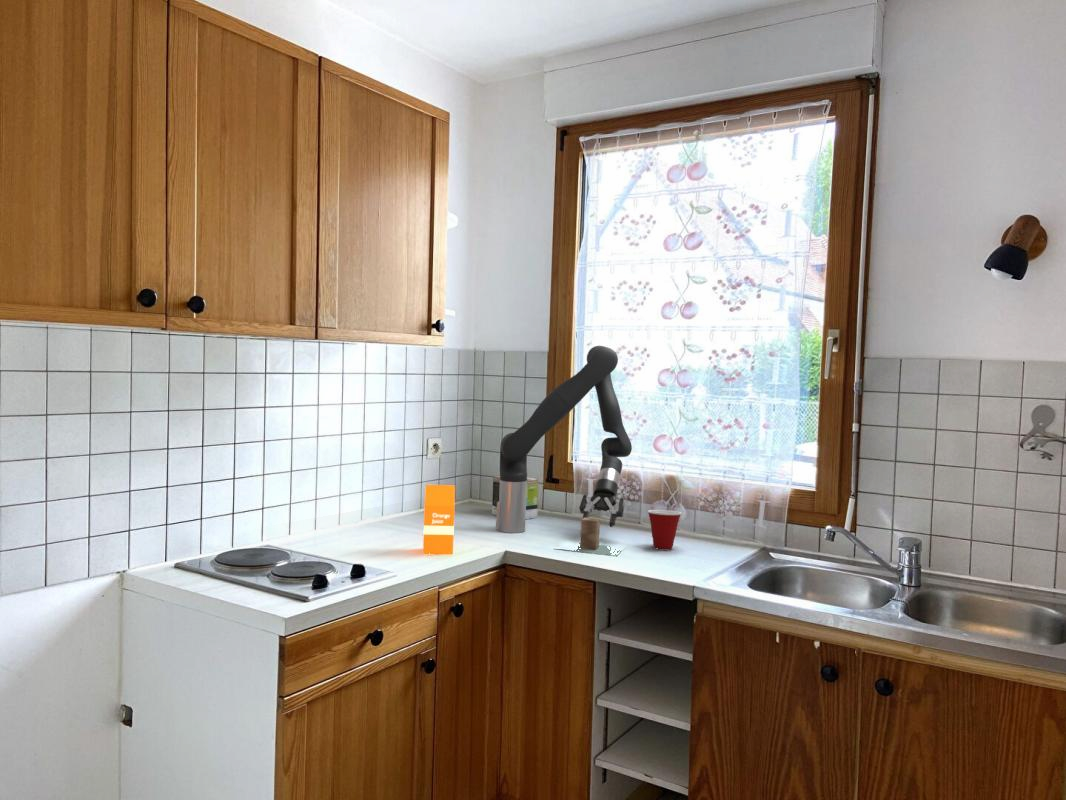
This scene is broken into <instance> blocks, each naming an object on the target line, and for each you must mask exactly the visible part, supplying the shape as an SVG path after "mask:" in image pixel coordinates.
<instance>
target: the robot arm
mask: <svg viewBox="0 0 1066 800" xmlns="http://www.w3.org/2000/svg"><path fill="white" fill-rule="evenodd" d="M618 357H619V356H618V354H617V352H616V351H615V350H614V349H612V348H610V347H607V346H604V345H596V346H595V345H594V346H593V347H592V348H591V349H589V351H588V352H587V354H586V363H585V365H584V366H583V367H582V368H581V369H580V370H579V371H578V372H576V374H574V375H572V376H571V377H569V378H568V379H566V380H565V381H563V382H561V383H560V384H558V385H557V386H556V387H555V388H554V389H553V390H551V392H550V393H548V395H547V396H546V397H545V398H544V399H542V401H541V402H540V403H539V405H537V408H535V410H534V412H533V413H532V415H531V416H530V417H529V418H528V420H527V421H526V422H525V423H523V425H521V426H520V427H519V428H518V429H517V430H516V431H514V432H510V433H508V434H505V435H504V437H502V439H501V442H500V449H499V476H500V491H499V502H497V515H496V518H495V519H496V521H495V523H496V524H495V531H498V532H503V533H510V534H512V533H513V534H515V533H517V534H518V533H523V532H525V531H526V520H527V519H526V492H527V477H528V469H527V463H528V461H527V459H528V454H529V453H530V452H531V451H532V449H533V448H534V447H535V445H537V443H538V442H539V441H540V439H542V438H543V436H545V435H546V434H547V433H548V432H550V430H552V429H553V428H554V427H555V426H556V425H557V424H558V423H560V421H562V420H563V419H564V418H565V417H566V416H567V415H568V414H569V413H571V411H572V410H573V409H574V408H575V407H576V406H577V405H578V404H579V402H581V401H582V400H583V399H584V398H585V396H586V395H587V394H588V393H589V392H590V391H591V390H592V389H593V388H594V387H595V392H596V396H597V401H598V407H599V412H600V418H601V424H602V425H601V426H602V428H603V431H604V432H606V433H610V434H613V435H614V436H616V437H606V438H604V440H602V442H601V446H600V449H601V464H600V465H601V466H600V469H599V474H598V475H597V478H596V481H595V482H596V483H595V486H594V490H593V494H592V496H587V494H583V495H582V498H581V501H580V504H579V511H580V512H579V513H580V514H582V518H581V520H582V519H583V518H590V516H589V515H590V514H592V513H594V512H595V511H600V512H601V511H603V512H607V511H608V512H609V514H610V518H609V522H608V525H609V528H613V527H614V526H615V525H616V520H617V518H622V517H623V516H624V509H625V501H624V498H623V497H621V498H619V499H617V494H618V491H619V486H620V482H621V481H620V479H621V474H622V469H623V462H622V460H621V459H620V458H625V457H629V456H630V455H631V453H632V450H633V447H632V446H633V445H632V442H631V439H630V438H629V436H628V433H627V431H626V429H625V426H624V423H623V418H622V412H621V408H620V404H619V400H618V398H617V394H616V392H615V388H614V384H613V381H612V372H613V371H614V370H615V369H616V368H617V366H618V364H619V363H618V362H619V358H618ZM589 502H590V503H589ZM616 504H617V506H618V508H617V509H618V510H617V511H616V510H615V508H614V506H616ZM587 505H588V506H587Z"/></svg>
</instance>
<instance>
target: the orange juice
mask: <svg viewBox="0 0 1066 800" xmlns="http://www.w3.org/2000/svg"><path fill="white" fill-rule="evenodd" d="M455 490H456V485H452V484H450V485H449V484H443V485H442V484H426V485H425V491H424V508H423V509H424V512H423V515H424V516H423V540H422V541H423V544H422V545H423V546H422V555H423V554H429V553H430V554H453V555H454V532H455V501H456V500H455V498H456V497H455V495H456V493H455V492H456V491H455Z"/></svg>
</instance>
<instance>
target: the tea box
mask: <svg viewBox="0 0 1066 800" xmlns="http://www.w3.org/2000/svg"><path fill="white" fill-rule="evenodd" d="M492 477H493V479H492V500H491V502H492V503H491V506H492V507H491V514H492V515H494V516H497V502H499V491H500V475H495V476H492ZM538 499H539V478H533V477H528V476H527V492H526V519H525V520H530V518H531V519H536V517H538V505H539V504H538V503H539V502H538V501H539V500H538Z"/></svg>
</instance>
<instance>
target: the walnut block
mask: <svg viewBox="0 0 1066 800" xmlns="http://www.w3.org/2000/svg"><path fill="white" fill-rule="evenodd" d="M582 518H583V517H582ZM582 518H581V521H580V522H581V523H580V542H579V543H580V548H581V549H590V550H597V549H598V548H599V545H600V528H601V526H600V525H601V524H600V523H601V519H600V518H595V517H594V518H593V517H588V518H583V519H582Z"/></svg>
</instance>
